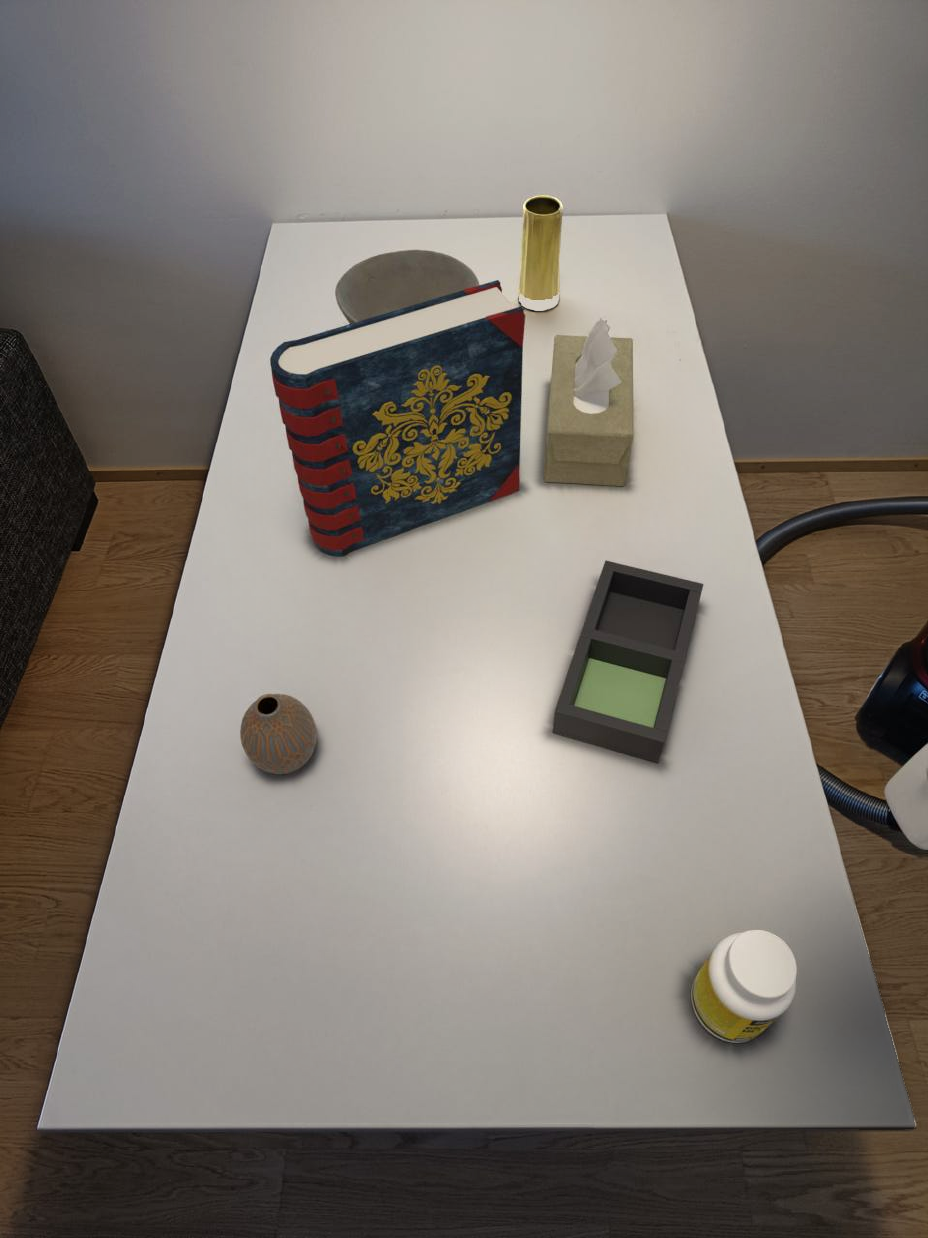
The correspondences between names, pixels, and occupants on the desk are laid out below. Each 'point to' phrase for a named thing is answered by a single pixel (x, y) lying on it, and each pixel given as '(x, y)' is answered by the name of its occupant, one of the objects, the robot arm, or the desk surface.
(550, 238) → the vase
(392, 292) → the bowl
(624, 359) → the tissue box
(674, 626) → the holder
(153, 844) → the desk surface
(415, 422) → the book
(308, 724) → the vase
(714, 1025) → the pill bottle
